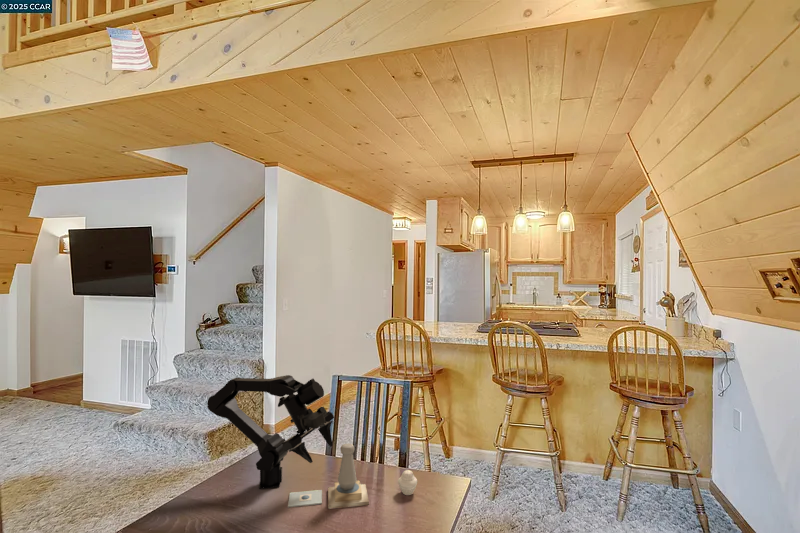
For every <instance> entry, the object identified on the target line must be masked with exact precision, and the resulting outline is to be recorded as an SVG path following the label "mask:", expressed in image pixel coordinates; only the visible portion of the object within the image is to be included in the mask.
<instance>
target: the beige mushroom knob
mask: <svg viewBox="0 0 800 533" xmlns="http://www.w3.org/2000/svg"><path fill="white" fill-rule="evenodd" d="M339 450H340V453H341V454H342V456H341V461H340V467H339V472H338V477H337V482H339V485H340V487H341V489H344V490H350V489H352V488H353V487H354V485H355V483H356V481H358V480H357V474H356V468H355V461H354V455H353V454H354V453H355V446H354V445H353V444H352V443H343V444H341V446H340V449H339Z"/></svg>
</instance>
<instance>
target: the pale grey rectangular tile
mask: <svg viewBox="0 0 800 533" xmlns="http://www.w3.org/2000/svg"><path fill="white" fill-rule="evenodd" d="M322 504H323V490H322V489H316V490H307V491H306V490H305V491H295V492H294V491H293V492H289V496H288V502H287V508H297V507H305V506H306V507H307V506H315V505H316V506H317V505H322Z"/></svg>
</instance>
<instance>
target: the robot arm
mask: <svg viewBox="0 0 800 533" xmlns="http://www.w3.org/2000/svg"><path fill="white" fill-rule="evenodd" d="M239 392H253V393H254V392H262V393H268V394H269V395H271V396H276V397H278V398H279V397H280V398H279V401H278V404H277V407H278V408H280V407H282V406H283V405H284V407H285V409H286V411H287V413H288V414H289V417H290V418H291V419H290V423H291V424H292V423H293V424H294V425H295V427H296V429H297V430H296V431H295V433H296V434H294V435H292V436H290V437H289V438H288V439H284V438H283V437H281V435H279V433H278V432H277V433H274V434H273V435H272V434H269V433H267V432H266V430H264V429H263V428H262V427H261V426H259V424H257V422H255V421H254V420H253V419H252V418H251V417H250V416H249V415H248V414H247V413H246V412H244V411H243V410H242V409H241V408H240V407H239V404H238V402H237V401H238V400H237V399H236V396H238V394H239ZM295 393H296V394H295ZM324 396H325V391H324V387H323V386H322V385H321V384H320V383H319V382H318V381H316V380H315V379H314V378H311V379H308V381H307V382H305V383H302V382H301V381H298V380H296V379H295V378H294V377H293V376H292V375H291V374H290V375H289V374H288V375H287V374H286V375H281V376H276V377H272V378H258V377H257V378H251V377H250V378H249V377H248V378H246V377H234V378H232V379H229V380H228V381H227V382H226V383H225V385H224V386H223V387H221V388H220V389H219V390H218V391H217V392H216V393H215V394H213V395H211V396H210V397H209V398H208V399H207V404H206V405H207V409H208V411H209V412H211V413H212V414H214V415H216V416H217V417H221V418H224V419H226V420H228V421H229V422H230V423H231V424H232V425H233V426H235V427H236V429H238V431H240V432H241V433H242V434H243V435H244V436H246V438H247V439H249V441H251V442H252V443H253V444H254V445H255V446H256V447H257V451H258V454H259V456H260V459H259V460H258V461H257V462H255V466H256V469H257V471H259V486H258V489H259V490H262V489H273V488H279V487H280V486H281V483H282V481H283V466H281V463H282V461H283V460H284V459H285V458H284V457H286V456H287V455H288V453H290V452H293V453H295V454H296V455H299V456H300V457H301V458H303V459H304V460H305V461H306V462H308V463H309V464H312V463H313V459H312V456H311V455H310V453H309V452H308V449H307V448H306V444H305V441H303V439H304V438H305V437H307V436H308V435H309V434H311V433H312V432H314V431H315V430H316V429H317V431H318V432H319V433H320V435H321V436H322V438H323V439H324V440H325V443H327V445H328V446H329V447H333V445H334V444H333V439H332V433H331V427H332V424H333V421H334V419H335V415H334V414H333V413H332V412H330V411H327V409H326V408H325V407H324V406H320V407H318V408H317V409H316V411H315V412H313V410H312V409H311V408H307V406H309V405H311V404H313V403H315V402H316V401H318V400H319V399H321V398H323V397H324ZM302 441H303V442H302Z"/></svg>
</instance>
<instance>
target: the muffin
mask: <svg viewBox="0 0 800 533" xmlns="http://www.w3.org/2000/svg"><path fill="white" fill-rule="evenodd" d="M397 482H398V483H397V484H398V487H399V489H400V491H401V492H402V494H403V495H404V496H405V495H406V496H410V495H413V493H414V491H416V490H415V489H416V488H417V484H418V479H417V477H416V476H415V475H414V473H413V471H412V470H408V469H406V470H404V471H402V474H401V476H400V477H399V478H398V480H397Z"/></svg>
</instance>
